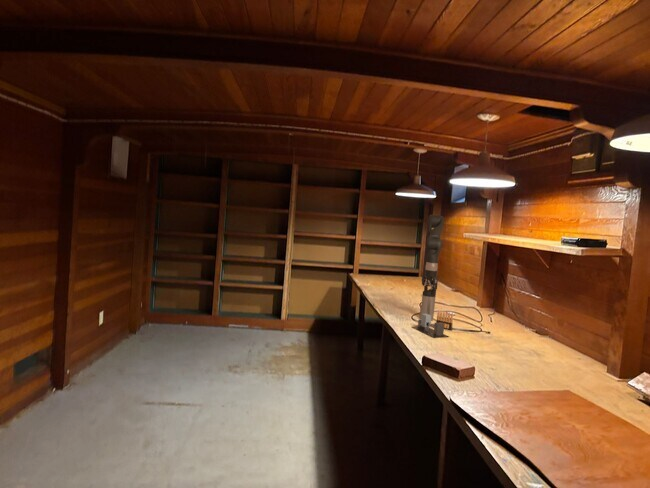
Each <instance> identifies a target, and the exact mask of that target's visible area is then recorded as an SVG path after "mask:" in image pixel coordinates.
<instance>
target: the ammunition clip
mask: <svg viewBox="0 0 650 488" xmlns="http://www.w3.org/2000/svg"><path fill="white" fill-rule="evenodd" d="M453 322H454V313H453V312H451V311H449V312H448V311H445V310H444V311H443V310H442V309H441V310H437V315H436V320H435V323H443V324H444V330H445V331H449V332H451V331H453Z"/></svg>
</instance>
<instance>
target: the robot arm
mask: <svg viewBox="0 0 650 488" xmlns="http://www.w3.org/2000/svg"><path fill="white" fill-rule="evenodd" d="M444 223H445V217H444V216H443V215H440V214H439V215H438V214H429V215H428V217H427V227H426V228H427V230H426V241H425V244H424V245H425V250H424V261H423V262H424V263H423V268H422V275H421V285H422V286H423V291H422V296H421V304H420V309H419V318H420V319H419V320H421V314H429V315H431V322H432V321H434V316H435V314H434V313H435V305H436V297H437V296H436V295H437V289H438V282H439V281H438V280H439V276H438V265H439V264H438V262H439V256H440V252H441V250H442V248H443V243H444V242H443V241H442V240H441V234H442V231H443V228H444ZM429 287H430V288H429Z"/></svg>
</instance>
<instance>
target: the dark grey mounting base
mask: <svg viewBox="0 0 650 488" xmlns="http://www.w3.org/2000/svg"><path fill="white" fill-rule="evenodd" d="M420 323H421V319H418V320H417V326H411V328H412V329H414V330H416V331H418V332H420V333H422V334H424V335H426V336H429V337H430V338H433V339H437V338H438V339H439V338H440V339H441V338H442V339H443V338H450V336H449V335H446V334H444V330H445V329H444V324H443V323H436V322H434V324H432V323H431V324H429V323H427V324H426V325H428V326H430V327H423V326H421V325H420Z"/></svg>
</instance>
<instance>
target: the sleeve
mask: <svg viewBox="0 0 650 488" xmlns="http://www.w3.org/2000/svg"><path fill="white" fill-rule="evenodd" d="M420 320H421V323H420V325H421V326H423V327H429V328H431V326H428V325H426V324H427V323H429V324H432V323H431V322H432V321H431V315H429V314H421V319H420Z"/></svg>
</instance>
